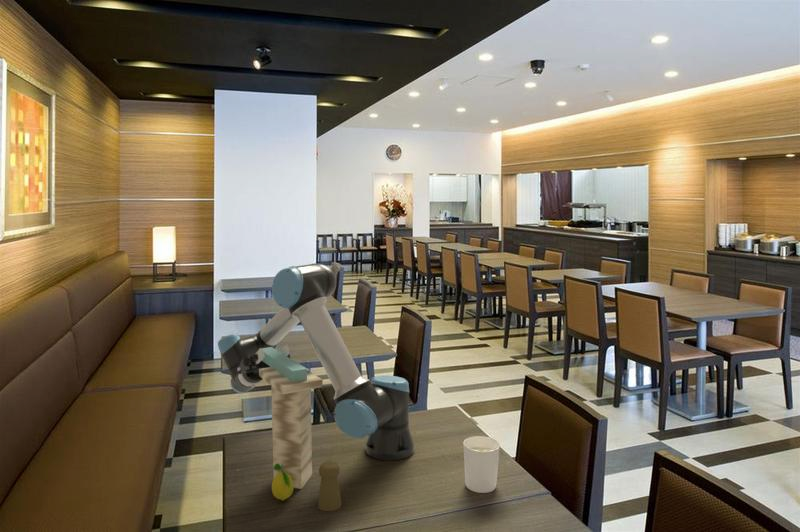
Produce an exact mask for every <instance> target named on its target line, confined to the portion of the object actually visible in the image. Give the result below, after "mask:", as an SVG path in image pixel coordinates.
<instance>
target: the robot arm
mask: <svg viewBox="0 0 800 532" xmlns="http://www.w3.org/2000/svg"><path fill="white" fill-rule="evenodd" d="M272 282H273V283H272V285H271V287H272V288H271V292H272V293H271V294H272V297H273V300H274V301H275V303H276V305H277V306H279V307H281V308H280V310H279V311H277V313H276V314H275V315H274V316H272V318H271V319H270V320H268V322H267V323H266V324H265V325H264V326H262V328H261V329H260V330H259V331H258V332H257V333H255V334H254V335H250V336H246V337H244V338H241V336H240V335H239V334H238V333H231V334H228V335H226V336H224V337H222V338H220V339H219V341H217V346H218V347H217V348H218V351H219V353H220V355H221V357H222V359H223V361H224V363H225V365H226V368H227V369H228V373H229V376H230V378H231V379H230V387H231V389H232V390H233V391H234V392H236V393H237V394H247V393H248V392H250V391H252V390H253V389H255V387H256V386H257V385H258V384H259V383H260V382H262V381H263V380H264V379H262V378H261V377H260V376H259V369H262V368H268V367H270V366H269V365H267V364H266V363H264V362H263V361H262V359H263V358H264V357H265V356H264V351H263V348H268V347H272V348H274V349H276V350H277V349H278V348H279V345H280V341H282V340H283V339H284V338H285V337H286V336H287V334H288V333H290V332H291V331H292V330H293V329H294V328H295V327H296V326H298V324H299V323H300V324H301V326H302V327H303V329H304V332H305V333H306V335H307V337H308V339H309V341H310V343H311V345H312V347H313V349H314V352H315V353H316V355H317V358H318V359H319V361H320V363H321V366H322V367H323V369H324V371H325V373H326V375H327V377H328V379H329V381H330V383H331V385H332V387H333V389H334V392H335V394H334V396H333V401H334V403H335V404H336V405H335V407H334V414H333V417H334V422H335V424H336V426H337V427H338V429H339V430H340V432H341V433H343V434H344V435H346V436H347V437H351V438H353V439H362V438H364V437H366V436H367V437H366V441H365V452H366V454H367V455H368V456H369V457H371V458H374V459H375V460H379V461H391V462H392V461H400V460H403V459H406V458H409V457H410V456H412V455H413V454H414V453H415V441H414V438H413V435H412V432H411V428H410V387H409V384H410V383H409V382H408V380H407V379H406V378H404V377H400V376H396V375H376V376H373V377H371V380H370V379H368V378H365V377H363V376H362V373H361V372H360V371H359V368H358V366H357V365H356V363H355V361H354V359H353V357H352V355H351V353H350V351H349V349H348V347H347V346H346V344H345V341H344V339H343V337H342V336H341V334H340V332H339V330H338V328H337V326H336V324H335V323H334V321H333V319H332V317H331V314H330V313H329V311H328V309H327V307H326V304H327V302H328V301H327V300H329V299H330V298H331V297H332V295H333V294H334V293H335V290H336V287H337V277H336V275H335V273H334V271H333V270H332V269H331V268H330V267H329V266H327V265H326V264H323V263H309V264H304V265H297V266H294V265H292V266H289V267H286V268H282V269H281V270H279V271H278V272H277V273H276V275H275V276H274V277H273V281H272ZM278 351H279V352H281V353H282V354H284V355H285V356H287V357H289V358H290V359H292V358H291V355H290V354H291V353H290V349H289V344H285V345H283V347H282V348H280V349H279V350H278Z"/></svg>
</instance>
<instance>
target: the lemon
mask: <svg viewBox="0 0 800 532" xmlns="http://www.w3.org/2000/svg"><path fill="white" fill-rule="evenodd" d="M281 467H282V468H281ZM274 469H275V470H281V469H282V472H281V473H278V474H277V475H276V476H275V477H274V476H273V480H272V483H271V492H272V495H273V496H274V498H276V499H278V500H280V501H282V502H284V501H285V500H287V499H288V498H290V497H291V495H292V494H293V491H294V488H293V480H292V478H291V476H290V475H289V474H287V473H285V472H283V464H282V466H280V465H279V464H278V463H277V464H275V466H274Z"/></svg>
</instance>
